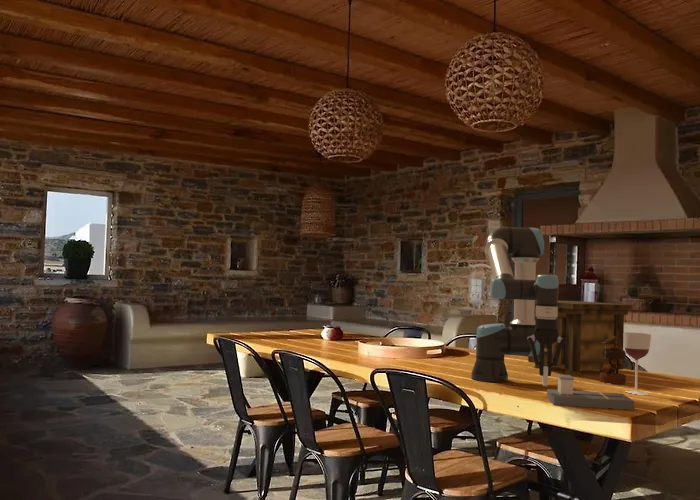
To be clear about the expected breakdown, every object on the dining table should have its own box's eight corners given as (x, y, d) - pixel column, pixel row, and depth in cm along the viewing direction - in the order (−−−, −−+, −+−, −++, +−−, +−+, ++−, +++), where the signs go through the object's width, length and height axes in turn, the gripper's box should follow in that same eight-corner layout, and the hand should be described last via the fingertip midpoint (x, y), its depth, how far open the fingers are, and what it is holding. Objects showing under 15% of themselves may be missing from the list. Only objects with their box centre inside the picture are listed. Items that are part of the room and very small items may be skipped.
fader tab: (560, 394, 218) (560, 377, 218) (557, 390, 224) (557, 374, 225) (573, 394, 217) (573, 378, 218) (569, 391, 224) (570, 375, 224)
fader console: (553, 405, 215) (553, 395, 215) (547, 397, 228) (547, 388, 228) (634, 410, 211) (634, 400, 211) (622, 402, 225) (622, 393, 225)
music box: (618, 385, 260) (615, 337, 262) (593, 383, 269) (590, 336, 271) (635, 382, 270) (631, 335, 272) (610, 380, 279) (607, 335, 281)
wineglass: (617, 390, 249) (618, 332, 250) (641, 391, 250) (642, 332, 251) (629, 394, 240) (631, 334, 241) (654, 395, 241) (656, 335, 241)
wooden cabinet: (630, 375, 292) (631, 304, 294) (571, 377, 279) (573, 303, 280) (576, 364, 325) (577, 301, 326) (521, 365, 311) (522, 299, 312)
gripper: (528, 318, 220) (527, 385, 219) (567, 319, 218) (566, 388, 217) (526, 316, 228) (524, 382, 227) (563, 318, 226) (562, 384, 225)
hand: (544, 385), depth 222 cm, fingers closed
